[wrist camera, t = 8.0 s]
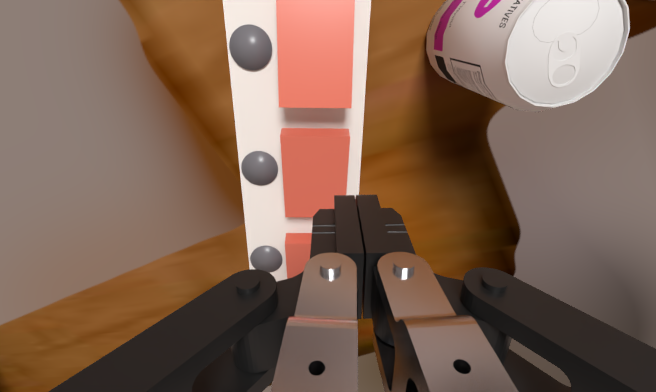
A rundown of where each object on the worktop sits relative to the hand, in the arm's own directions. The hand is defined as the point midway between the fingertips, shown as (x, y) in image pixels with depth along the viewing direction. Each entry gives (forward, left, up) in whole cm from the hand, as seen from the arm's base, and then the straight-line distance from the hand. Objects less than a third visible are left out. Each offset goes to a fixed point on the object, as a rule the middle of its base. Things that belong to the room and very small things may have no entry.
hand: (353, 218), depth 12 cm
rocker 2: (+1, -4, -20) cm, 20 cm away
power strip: (+3, +3, -26) cm, 26 cm away
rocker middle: (+1, +7, -20) cm, 21 cm away
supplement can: (-13, -5, -26) cm, 29 cm away
